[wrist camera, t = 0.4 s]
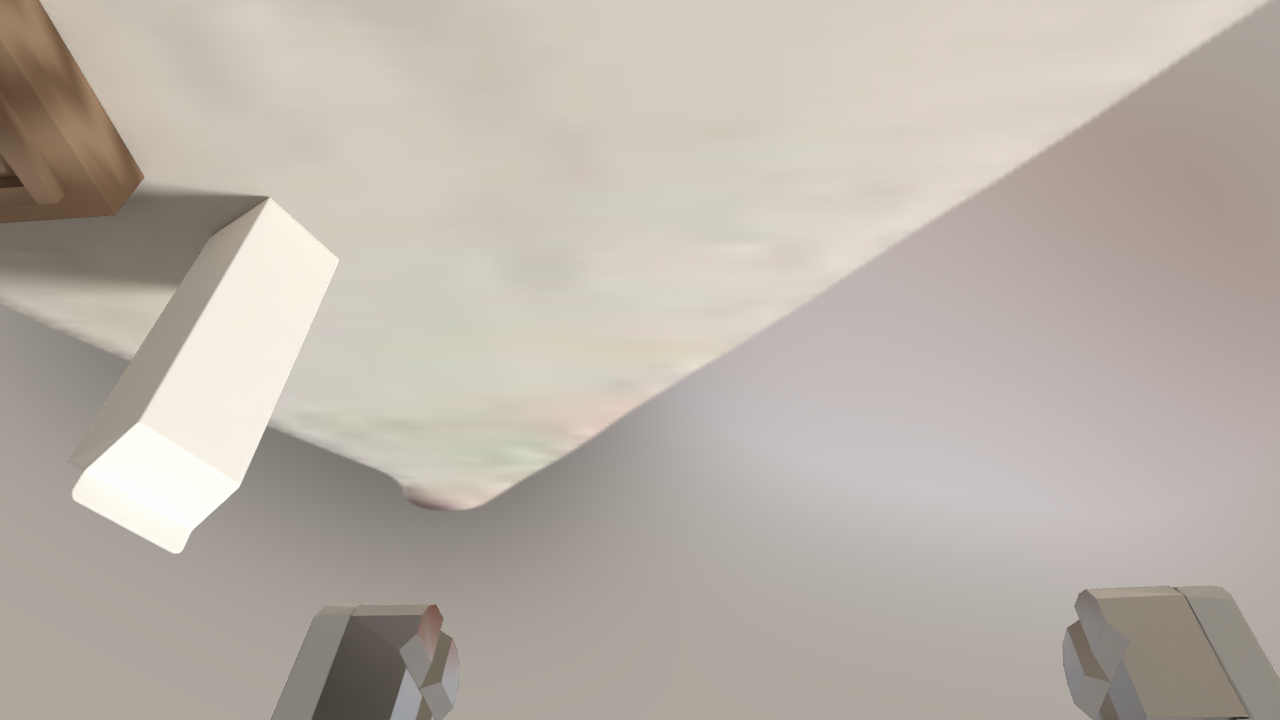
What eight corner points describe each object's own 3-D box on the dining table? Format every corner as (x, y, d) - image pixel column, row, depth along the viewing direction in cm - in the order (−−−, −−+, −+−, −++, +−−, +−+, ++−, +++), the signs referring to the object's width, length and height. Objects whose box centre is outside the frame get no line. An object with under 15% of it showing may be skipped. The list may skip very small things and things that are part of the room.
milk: (269, 195, 53) (106, 473, 37) (341, 259, 56) (219, 538, 41) (208, 236, 55) (29, 514, 40) (281, 296, 59) (143, 573, 43)
